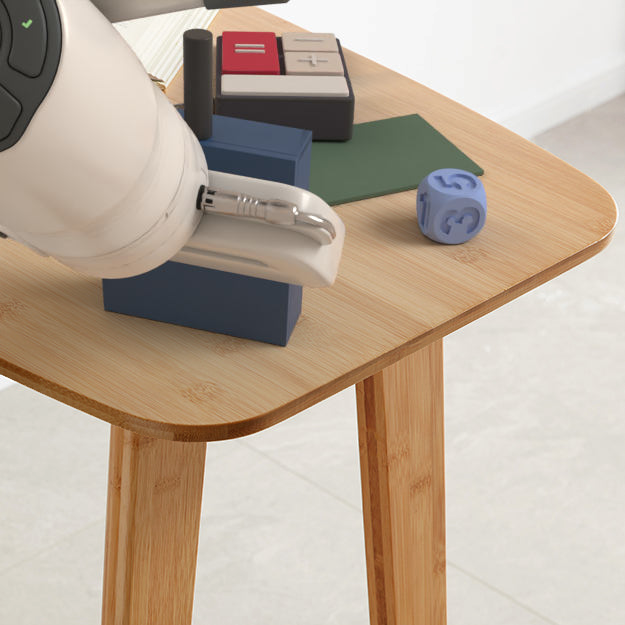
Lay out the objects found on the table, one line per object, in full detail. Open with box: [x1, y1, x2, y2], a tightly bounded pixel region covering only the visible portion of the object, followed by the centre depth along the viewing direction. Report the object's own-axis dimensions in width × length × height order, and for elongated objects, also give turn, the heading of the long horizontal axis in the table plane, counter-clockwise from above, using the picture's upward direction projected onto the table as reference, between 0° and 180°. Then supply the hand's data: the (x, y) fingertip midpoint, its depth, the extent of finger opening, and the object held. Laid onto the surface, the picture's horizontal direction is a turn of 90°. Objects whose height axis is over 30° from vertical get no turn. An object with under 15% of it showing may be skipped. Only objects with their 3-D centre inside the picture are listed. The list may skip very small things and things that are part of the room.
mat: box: [309, 112, 485, 207], centre depth 88 cm, size 24×10×1 cm, turn 116°
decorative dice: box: [415, 169, 488, 245], centre depth 81 cm, size 4×4×4 cm
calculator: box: [214, 30, 356, 140], centre depth 96 cm, size 11×4×15 cm
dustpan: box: [101, 28, 312, 347], centre depth 67 cm, size 4×12×19 cm, turn 76°
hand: (181, 246), depth 65 cm, fingers closed
